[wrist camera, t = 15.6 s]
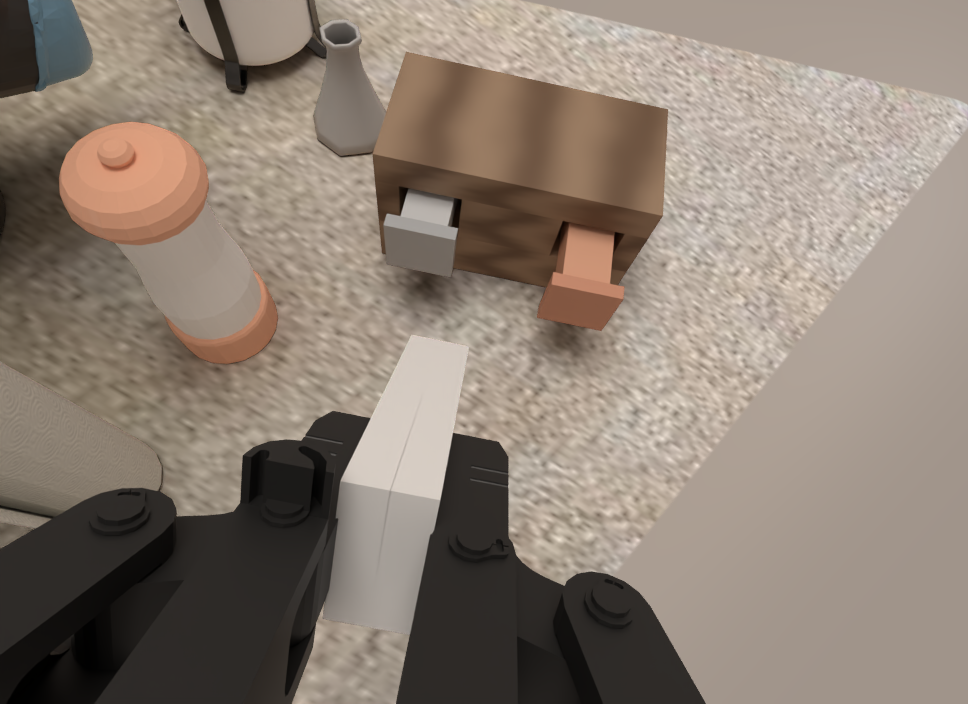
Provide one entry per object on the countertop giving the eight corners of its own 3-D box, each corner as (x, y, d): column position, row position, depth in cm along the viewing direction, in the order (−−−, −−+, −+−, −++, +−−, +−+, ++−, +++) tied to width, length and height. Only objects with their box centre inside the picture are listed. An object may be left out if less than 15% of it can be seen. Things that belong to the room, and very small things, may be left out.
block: (382, 253, 49) (372, 153, 38) (408, 164, 53) (406, 51, 42) (607, 300, 49) (662, 215, 38) (616, 209, 53) (668, 109, 42)
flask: (405, 140, 54) (403, 47, 45) (336, 168, 52) (319, 76, 43) (368, 90, 56) (359, -9, 47) (300, 114, 54) (277, 16, 45)
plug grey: (386, 264, 43) (383, 225, 39) (425, 129, 49) (426, 81, 44) (450, 277, 43) (455, 240, 39) (482, 141, 49) (488, 94, 44)
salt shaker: (183, 284, 45) (39, 90, 28) (277, 278, 47) (195, 88, 29) (178, 368, 43) (13, 211, 25) (278, 359, 44) (187, 203, 26)
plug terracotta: (536, 317, 43) (551, 284, 38) (558, 175, 48) (573, 131, 44) (601, 330, 43) (623, 299, 38) (614, 187, 49) (635, 144, 44)
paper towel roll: (85, 437, 40) (-229, 286, 21) (174, 442, 41) (-49, 300, 21) (50, 544, 37) (-352, 487, 18) (146, 547, 38) (-141, 497, 18)
